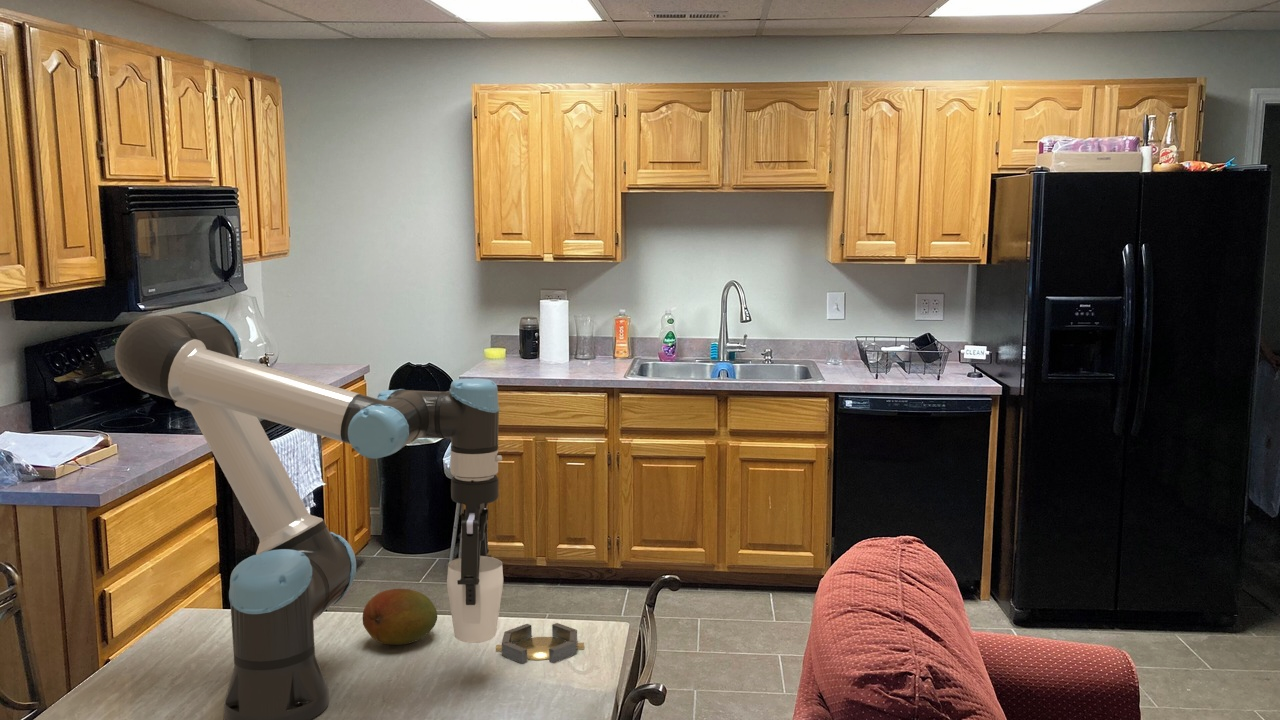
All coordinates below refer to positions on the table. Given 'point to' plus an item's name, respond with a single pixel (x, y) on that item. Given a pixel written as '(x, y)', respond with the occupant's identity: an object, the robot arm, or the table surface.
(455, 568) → the cup
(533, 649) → the socket
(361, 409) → the robot arm
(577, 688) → the table surface
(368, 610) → the fruit
